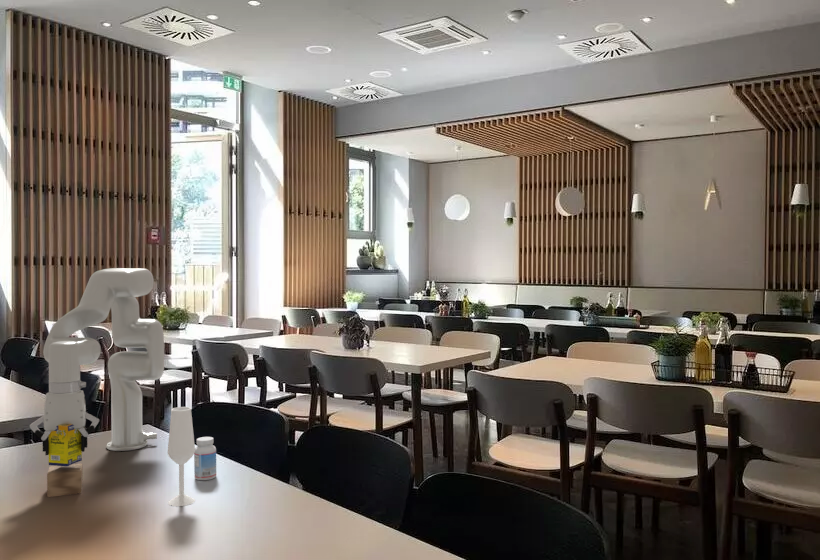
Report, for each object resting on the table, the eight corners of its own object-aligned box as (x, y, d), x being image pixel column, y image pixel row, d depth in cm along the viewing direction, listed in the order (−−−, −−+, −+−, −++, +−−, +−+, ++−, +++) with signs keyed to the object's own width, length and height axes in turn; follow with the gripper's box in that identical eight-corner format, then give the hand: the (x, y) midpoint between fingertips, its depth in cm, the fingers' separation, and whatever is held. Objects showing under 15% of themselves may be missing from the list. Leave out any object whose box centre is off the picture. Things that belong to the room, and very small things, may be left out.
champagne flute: (194, 495, 181) (194, 405, 181) (196, 504, 175) (195, 410, 175) (167, 498, 179) (166, 407, 178) (168, 507, 173) (167, 412, 172)
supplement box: (67, 467, 182) (67, 425, 181) (47, 465, 183) (47, 424, 183) (82, 460, 188) (82, 420, 187) (63, 459, 189) (63, 419, 188)
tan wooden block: (82, 484, 191) (82, 463, 190) (81, 493, 183) (80, 471, 183) (50, 488, 187) (49, 466, 187) (47, 497, 180) (47, 474, 180)
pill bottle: (219, 474, 200) (219, 436, 199) (211, 481, 193) (211, 441, 193) (199, 474, 200) (199, 435, 200) (190, 480, 194) (190, 441, 194)
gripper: (100, 383, 192) (101, 445, 192) (29, 387, 185) (30, 452, 185) (100, 387, 185) (100, 452, 185) (26, 392, 178) (27, 459, 178)
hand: (65, 451), depth 185 cm, fingers closed on supplement box, 8 cm apart
